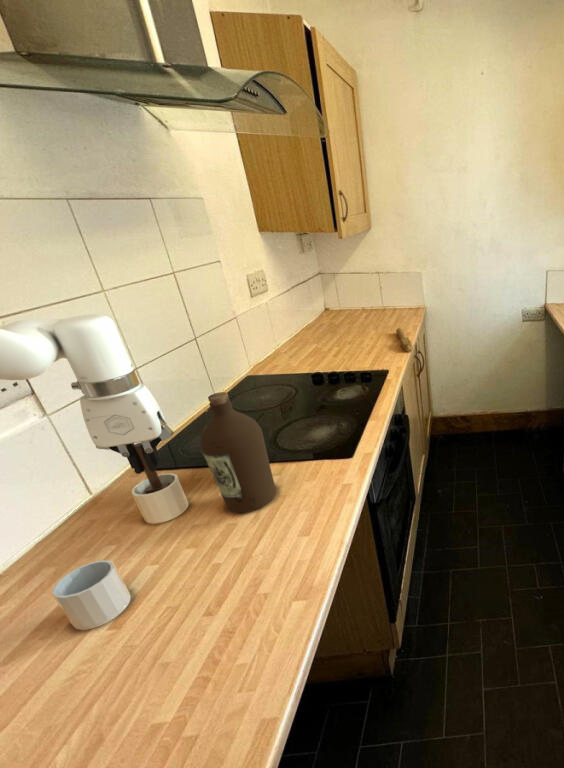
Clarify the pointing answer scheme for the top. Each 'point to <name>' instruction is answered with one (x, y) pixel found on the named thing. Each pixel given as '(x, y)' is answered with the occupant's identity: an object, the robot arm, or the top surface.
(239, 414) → the olive oil
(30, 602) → the top surface
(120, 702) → the top surface
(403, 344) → the rough brown stick
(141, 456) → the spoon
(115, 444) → the robot arm
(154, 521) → the white cup
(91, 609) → the white mortar
